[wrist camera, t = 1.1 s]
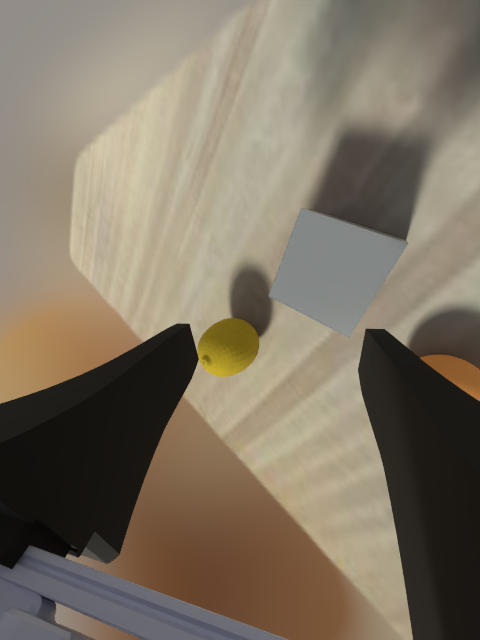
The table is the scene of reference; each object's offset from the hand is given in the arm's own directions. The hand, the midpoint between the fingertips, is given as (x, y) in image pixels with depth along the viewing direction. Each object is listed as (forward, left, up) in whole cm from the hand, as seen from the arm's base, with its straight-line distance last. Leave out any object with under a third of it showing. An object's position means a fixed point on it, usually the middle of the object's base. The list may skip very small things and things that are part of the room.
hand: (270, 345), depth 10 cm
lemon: (+6, +9, -14) cm, 17 cm away
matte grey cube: (0, -2, -13) cm, 14 cm away
